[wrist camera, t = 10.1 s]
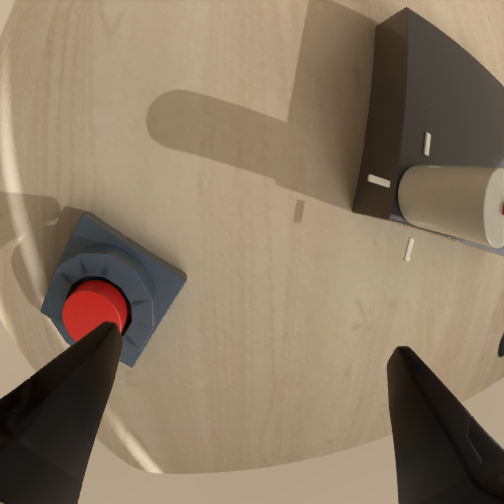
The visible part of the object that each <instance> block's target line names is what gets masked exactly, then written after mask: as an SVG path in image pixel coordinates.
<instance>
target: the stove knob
mask: <svg viewBox="0 0 504 504" xmlns="http://www.w3.org/2000/svg"><path fill="white" fill-rule="evenodd" d="M398 202H399V207H400V210H401V213H402V215H403V217H404V218H405V219H406V221H407V222H408V223H410V224H411V225H413V226H417V227H421V228H425V229H429V230H432V231H436V232H440V233H444V234H447V235H451V236H455V237H458V238H462V239H465V240H469V241H472V242H476V243H479V244H483V245H486V246H489V247H493V248H500V247H502V246H504V168H500V167H484V166H461V165H414V166H412V167H410V168H409V169H408V170H407V171H406V172H405V173H404V175H403V176H402V178H401V181H400V184H399V189H398Z"/></svg>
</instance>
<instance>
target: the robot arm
mask: <svg viewBox="0 0 504 504" xmlns="http://www.w3.org/2000/svg"><path fill="white" fill-rule="evenodd" d="M122 347H123V339H122V336H121V333H120V330H119V327H118V325H117V324H116V323H115V322H109V321H105V322H103V323H101V324H100V325H99V326H97V327H96V328H95V329H93V330H92V331H91V332H89V333H88V334H86V335H85V336H84V337H82V338H81V339H80V340H78V341H77V342H76V343H74V344H73V345H72V346H70V347H69V348H68V349H66V350H65V351H64V352H62V353H61V354H60V355H58V356H57V357H56V358H54V359H53V360H52V361H51V362H49V363H48V364H47V365H45V366H44V367H43V368H41V369H40V370H39V371H38V372H36V373H35V374H34V375H32V376H31V377H30V379H27V380H26V381H25V382H23V383H22V384H21V385H19V386H18V387H17V388H16V389H14V390H13V391H11V392H10V393H8V394H7V395H5V396H4V397H2V398H1V399H0V504H78V499H79V496H80V491H81V488H82V482H83V479H84V475H85V472H86V468H87V464H88V460H89V457H90V454H91V451H92V447H93V444H94V440H95V437H96V434H97V431H98V428H99V425H100V422H101V419H102V415H103V412H104V410H105V407H106V404H107V401H108V398H109V395H110V392H111V389H112V386H113V383H114V379H115V375H116V371H117V367H118V363H119V359H120V355H121V351H122ZM387 379H388V397H389V411H390V418H391V425H392V433H393V441H394V450H395V459H396V470H397V484H398V501H399V504H504V449H503V448H502V447H501V446H500V445H499V444H498V443H497V442H495V440H494V439H493V438H492V437H491V436H490V435H489V434H488V433H487V432H486V431H485V430H484V429H483V428H482V427H481V426H480V425H479V424H478V422H477V421H476V420H475V419H474V418H473V416H471V414H470V413H469V412H468V411H467V410H466V408H465V407H464V406H463V405H462V404H461V403H460V402H459V401H458V399H457V398H456V397H455V396H454V395H453V394H452V393H451V392H450V390H449V389H448V388H447V387H446V386H445V385H444V384H443V383H442V382H441V380H440V379H439V378H438V377H437V376H436V375H435V374H434V373H433V372H432V371H431V370H430V368H429V367H428V366H427V365H426V364H425V363H424V362H423V361H422V360H421V359H420V358H419V357H418V356H417V355H416V354H415V352H414V351H413V350H412V349H411V348H410V347H408V346H398V347H397V348H396V349H395V350H394V352H393V354H392V355H391V357H390V359H389V361H388V363H387Z"/></svg>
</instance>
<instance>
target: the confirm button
mask: <svg viewBox="0 0 504 504" xmlns="http://www.w3.org/2000/svg"><path fill="white" fill-rule="evenodd" d="M62 316H63V322H64V325H65V328H66V330H67V332H68V333H69V335H70V336H71V337H72V338H73V339H74V340H75V341H76V342H77V341H78V340H80V339H81V338H82V337H84V336H85V335H86V334H88V333H89V332H91V331H92V330H93V329H95V328H96V327H97V326H99V325H100V324H101V323H103V322H105V321H109V322H115V323H116V324H117V325H118V327H119V330H120V333H121V332H122V329H123V327H124V324H125V322H126V318H127V306H126V303H125V300H124V298H123V296H122V295H121V293H120V292H119V291H118V290H117V289H116V288H115V287H114V286H112V285H111V284H109V283H107V282H105V281H101V280H89V281H86V282H84V283H82V284H81V285H80V286H79V287H78V288H77V289H76V290H75V291H74V292H73V293H72V294H71V295H70V296H69V297H68V299H67V300H66V302H65V304H64V306H63V312H62Z"/></svg>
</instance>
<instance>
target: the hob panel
mask: <svg viewBox="0 0 504 504" xmlns="http://www.w3.org/2000/svg"><path fill="white" fill-rule="evenodd" d="M414 165H461V166H484V167H500V168H504V86H503V85H502V84H501V83H500V82H499V81H498V80H497V79H496V78H495V77H494V76H493V75H492V74H491V73H490V72H489V71H488V70H487V69H486V68H485V67H484V66H483V65H482V64H480V63H479V62H478V61H477V60H476V59H475V58H474V57H473V56H472V55H470V54H469V53H468V52H467V51H466V50H465V49H463V48H462V47H461V46H460V45H459V44H457V43H456V42H455V41H454V40H452V39H451V38H450V37H449V36H447V35H446V34H445V33H443V32H442V31H441V30H439V29H438V28H437V27H435V26H434V25H433V24H431V23H430V22H428V21H427V20H425V19H424V18H423V17H421V16H420V15H418V14H417V13H415V12H413V11H412V10H410V9H409V8H407V7H406V8H404V9H402V10H401V11H399V12H398V13H396V14H394V15H393V16H391V17H390V18H388V19H386V20H385V21H383V22H382V23H380V24H379V25H377V26H376V37H375V54H374V67H373V79H372V89H371V98H370V107H369V115H368V123H367V130H366V137H365V144H364V151H363V157H362V163H361V169H360V175H359V181H358V186H357V191H356V197H355V202H354V207H353V213H357V214H361V215H365V216H369V217H373V218H377V219H381V220H384V221H388V222H392V223H396V224H399V225H403V226H407V227H410V228H414V229H417V230H421V231H424V232H428V233H431V234H434V235H438V236H441V237H444V238H448V239H451V240H454V241H457V242H461V243H464V244H467V245H470V246H473V247H476V248H479V249H482V250H485V251H488V252H491V253H495V254H498V255H501V256H504V246H502V247H500V248H493V247H489V246H486V245H483V244H479V243H476V242H472V241H469V240H465V239H462V238H458V237H455V236H451V235H447V234H444V233H440V232H436V231H432V230H429V229H425V228H421V227H417V226H413V225H411V224H410V223H408V222H407V221H406V219H405V218H404V217H403V215H402V213H401V210H400V207H399V202H398V189H399V184H400V181H401V178H402V176H403V175H404V173H405V172H406V171H407V170H408V169H409V168H410V167H412V166H414ZM413 242H414V238H411V237H409V238H408V243H407V247H406V251H405V255H404V259H403V260H404V261H408V262H409V259H410V255H411V251H412V246H413Z"/></svg>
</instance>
